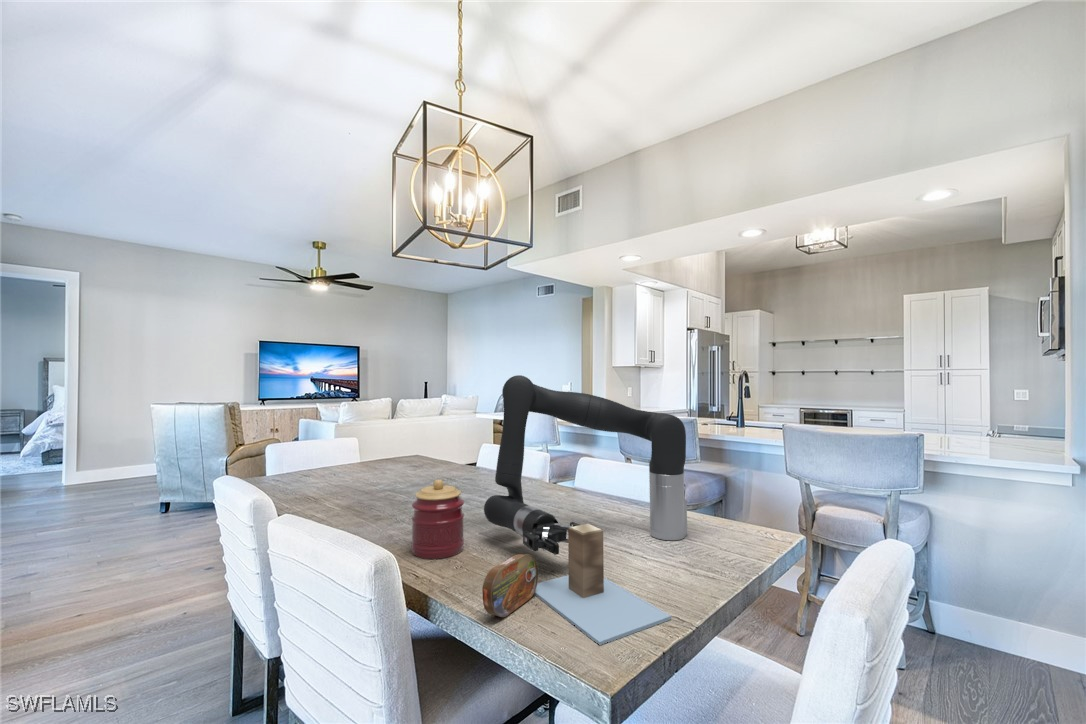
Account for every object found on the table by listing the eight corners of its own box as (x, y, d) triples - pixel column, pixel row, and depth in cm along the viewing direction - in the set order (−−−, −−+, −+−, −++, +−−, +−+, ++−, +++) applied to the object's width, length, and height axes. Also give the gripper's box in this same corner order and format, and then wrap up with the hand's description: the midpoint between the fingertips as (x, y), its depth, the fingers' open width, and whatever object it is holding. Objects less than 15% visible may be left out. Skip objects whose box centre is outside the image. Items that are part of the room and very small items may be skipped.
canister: (440, 563, 109) (440, 487, 109) (399, 553, 115) (400, 481, 116) (474, 546, 120) (474, 477, 121) (436, 538, 126) (436, 472, 127)
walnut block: (588, 583, 96) (588, 523, 97) (603, 592, 92) (603, 529, 93) (568, 588, 94) (568, 526, 94) (583, 598, 90) (582, 533, 90)
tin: (494, 625, 81) (492, 575, 81) (479, 621, 82) (478, 572, 83) (540, 592, 93) (538, 549, 94) (527, 589, 95) (525, 547, 96)
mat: (590, 572, 103) (590, 569, 103) (671, 619, 83) (671, 615, 83) (527, 588, 95) (527, 585, 95) (599, 645, 75) (599, 641, 75)
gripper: (508, 513, 107) (545, 533, 93) (560, 505, 114) (601, 522, 101) (508, 547, 107) (545, 571, 93) (560, 536, 114) (602, 557, 100)
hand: (574, 545), depth 97 cm, fingers open, 8 cm apart
